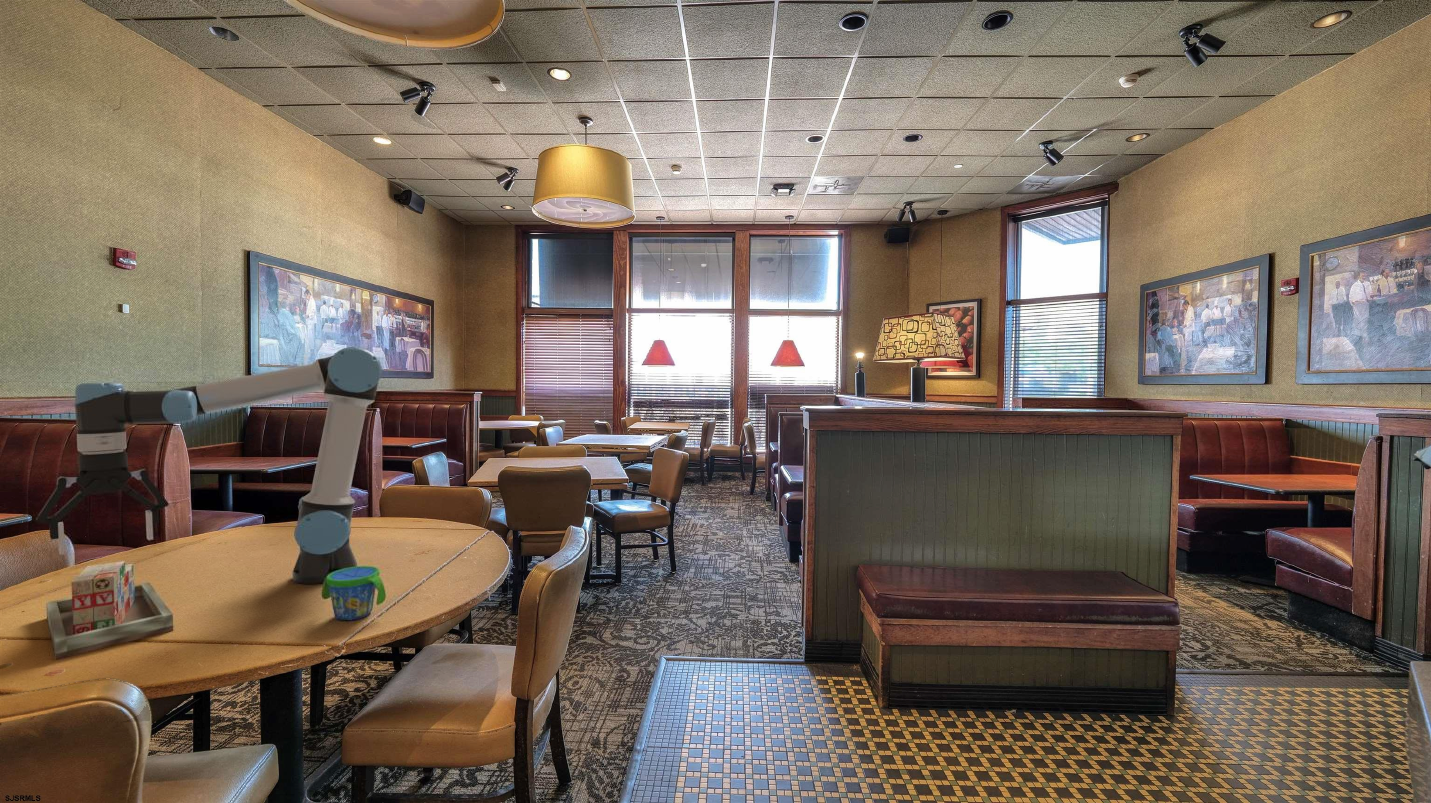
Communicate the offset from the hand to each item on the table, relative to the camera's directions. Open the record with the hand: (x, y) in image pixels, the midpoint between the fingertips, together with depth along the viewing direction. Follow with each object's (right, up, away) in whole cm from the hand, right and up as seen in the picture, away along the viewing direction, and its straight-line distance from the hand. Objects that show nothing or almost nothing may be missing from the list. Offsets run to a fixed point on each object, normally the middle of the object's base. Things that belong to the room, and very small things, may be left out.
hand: (107, 545), depth 129 cm
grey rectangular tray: (0, -18, 0) cm, 18 cm away
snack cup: (+51, -18, +6) cm, 55 cm away
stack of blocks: (-1, -17, +1) cm, 17 cm away
